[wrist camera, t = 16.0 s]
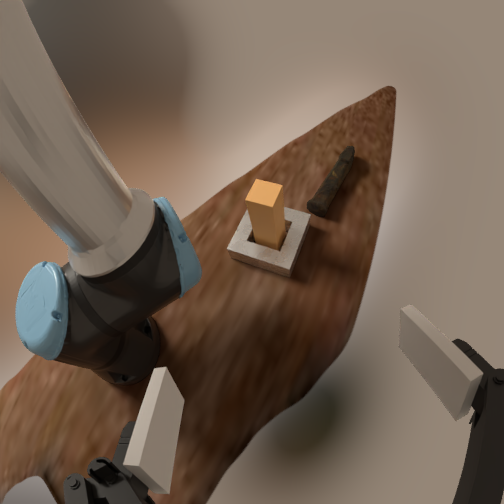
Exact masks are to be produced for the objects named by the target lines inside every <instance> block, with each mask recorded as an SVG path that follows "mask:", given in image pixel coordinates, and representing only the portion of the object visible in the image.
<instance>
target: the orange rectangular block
mask: <svg viewBox="0 0 504 504" xmlns="http://www.w3.org/2000/svg"><path fill="white" fill-rule="evenodd" d="M245 201H246V205H247V209H248V213H249V217H250V221H251V225H252V229H253V233H254V237H255V242H256V244H258V245H262V246H265V247H268V248H271V249H274V250H277V251H280V248H281V246H282V244H283V241H284V239H285V236H286V231H285V214H284V199H283V185H279V184H275V183H271V182H267V181H263V180H258V179H256V180H255V182H254V184H253V186H252V188H251V190H250V192H249V194H248V196H247V198H246V199H245Z"/></svg>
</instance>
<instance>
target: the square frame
mask: <svg viewBox="0 0 504 504" xmlns="http://www.w3.org/2000/svg"><path fill="white" fill-rule="evenodd" d="M284 214H285V230H287V231H288V234H287V236H286V239H285V241H284V244H283V246H282V248H281V251H277V250H274V249H271V248H268V247H265V246H262V245H258V244H255V243H253V242H254V240H255V237H254V233H253V229H252V225H251V221H250V217H249V213H248V209H247V211H246V213H245V214H244V216H243V218H242V220H241V222H240V224H239V226H238V228H237V230H236V232H235V234H234V236H233V238H232V240H231V242H230V244H229V246H228V248H227V250H228V252H229V255H230V257H231V258H232V259H235V260H238V261H241V262H244V263H247V264H250V265H253V266H256V267H259V268H262V269H265V270H268V271H271V272H274V273H277V274H280V275H283V276H286V277H289V278H290V276H291V273H292V271H293V268H294V266H295V263H296V261H297V258H298V255H299V253H300V250H301V247H302V245H303V242H304V240H305V237H306V234H307V232H308V229H309V226H310V217H311V214H307V213H304V212H300V211H297V210H293V209H290V208H286V207H284Z"/></svg>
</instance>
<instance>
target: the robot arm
mask: <svg viewBox="0 0 504 504" xmlns="http://www.w3.org/2000/svg"><path fill="white" fill-rule="evenodd" d="M0 172H1V173H2V174H3V175H4V177H5V178H6V179H7V180H8V182H9V183H10V184H11V185H12V186H13V187H14V189H15V190H16V191H17V192H18V193H19V195H20V196H21V197H22V198H23V199H24V200H25V201H26V202H27V204H28V205H29V206H30V207H31V208H32V209H33V210H34V211H35V212H36V213H37V215H38V216H40V218H41V219H42V220H43V221H44V222H45V223H46V224H47V225H48V226H49V227H50V228H51V229H52V230H53V231H54V232H55V233H56V234H57V235H58V236H59V237H60V238H61V239H62V240H63V241H64V242H65V243H66V244H67V245H68V259H69V262H68V263H67V264H65V265H64V266H63V267H60V266H59V265H58V264H56V263H54V262H53V263H51V262H46V261H44V262H40V263H39V264H37V265H35V266H34V267H33V268H32V269H31V270H30V271H29V273H28V274H27V275H26V277H25V279H24V281H23V283H22V285H21V288H20V290H19V294H18V299H17V303H16V326H17V331H18V334H19V337H20V339H21V341H22V343H23V344H24V346H25V347H26V348H27V349H28V350H29V351H31V352H32V353H34V354H37V355H39V356H41V357H43V358H44V359H46V360H55V361H58V362H62V363H66V364H70V365H74V366H78V367H83V368H88V369H91V370H92V371H93V372H94V373H96V374H97V375H98V376H99V377H101V378H102V379H104V380H105V381H108V382H110V383H113V384H119V385H131V384H135V383H137V382H139V381H141V380H143V379H144V378H145V377H146V376H148V375H149V373H150V372H151V371H152V369H153V368H154V366H155V364H156V362H157V359H158V356H159V352H160V336H159V331H158V328H157V326H156V323H155V321H154V320H153V318H152V317H151V315H153V314H154V313H156V312H157V311H159V310H161V309H162V308H164V307H165V306H167V305H168V304H170V303H172V302H173V301H175V300H176V299H178V298H181V297H182V296H183V295H184V293H185V292H187V291H188V290H189V289H191V288H192V287H193V286H195V285H196V284H197V283H198V282H199V281H200V279H201V276H202V269H201V265H200V262H199V260H198V257H197V255H196V253H195V250H194V248H193V246H192V244H191V242H190V240H189V238H188V237H187V236H186V232H185V230H184V228H183V226H182V224H181V222H180V220H179V218H178V216H177V214H176V213H175V211H174V209H173V207H172V206H171V204H170V203H169V201H168V200H167V199H166V198H165V197H159V198H155V199H153V200H152V198H151V197H150V196H149V194H147V193H146V192H145V191H143V190H141V189H136V188H127V187H126V185H125V184H124V182H123V181H122V179H121V178H120V176H119V175H118V173H117V172H116V170H115V169H114V167H113V165H112V164H111V162H110V161H109V159H108V158H107V156H106V155H105V153H104V152H103V150H102V148H101V147H100V145H99V144H98V142H97V141H96V139H95V137H94V136H93V134H92V132H91V131H90V129H89V127H88V126H87V124H86V122H85V121H84V119H83V117H82V116H81V114H80V112H79V111H78V109H77V107H76V106H75V104H74V102H73V100H72V99H71V97H70V95H69V93H68V92H67V90H66V88H65V86H64V85H63V83H62V81H61V79H60V77H59V75H58V74H57V72H56V70H55V68H54V66H53V64H52V62H51V60H50V58H49V57H48V55H47V52H46V51H45V49H44V47H43V45H42V43H41V41H40V38H39V36H38V34H37V32H36V30H35V28H34V26H33V24H32V22H31V19H30V17H29V15H28V13H27V10H26V8H25V6H24V4H23V1H22V0H0ZM399 348H400V349H401V350H402V351H403V352H404V354H405V355H406V356H407V358H408V359H409V360H410V361H411V363H412V364H413V365H414V367H415V368H416V369H417V370H418V372H419V373H420V374H421V375H422V377H423V378H424V379H425V381H426V382H427V383H428V385H429V386H430V387H431V388H432V390H433V391H434V392H435V394H436V395H437V396H438V398H439V399H440V400H441V402H442V403H443V404H444V406H445V407H446V409H447V410H448V411H449V413H450V414H451V415H452V417H453V418H454V419H455V421H457V420H459V419H460V418H462V417H463V416H465V415H467V414H468V412H469V410H470V408H471V406H472V407H473V408H474V410H475V411H474V413H473V415H472V418H471V420H470V422H469V424H471V423H472V427H471V433H470V438H469V444H468V449H467V454H466V458H465V463H464V467H463V471H462V474H461V478H460V481H459V485H458V488H457V491H456V495H455V498H454V500H453V503H452V504H500V503H501V500H502V495H503V491H504V369H494V368H493V367H492V366H491V365H490V364H489V363H488V362H487V361H485V360H484V358H483V357H481V356H480V355H479V354H477V352H476V351H475V350H474V349H472V347H471V346H470V345H469V344H467V343H466V342H465V341H462V340H460V339H456V340H454V341H450V340H449V339H448V338H447V337H446V336H445V335H444V334H443V333H442V332H441V331H440V330H439V329H438V328H437V327H436V326H434V325H433V324H432V323H431V322H430V321H429V320H428V319H427V318H426V317H425V316H424V315H422V314H421V313H420V312H419V311H418V310H417V309H416V308H415V307H414V306H412V305H408V306H405V307H403V308H400V331H399ZM183 406H184V399H183V397H182V395H181V393H180V391H179V390H178V388H177V386H176V384H175V382H174V380H173V378H172V376H171V375H170V373H169V371H168V369H167V367H161V368H154V371H153V373H152V376H151V379H150V382H149V385H148V388H147V391H146V394H145V396H144V399H143V402H142V405H141V408H140V411H139V415H138V418H137V421H136V422H128V423H127V425H126V426H125V427H124V428H123V431H122V434H121V436H120V437H121V438H120V439H119V442H118V443H119V445H117V448H116V451H115V454H114V457H113V460H112V462H111V461H110V460H109V459H108V458H105V457H99V458H96V459H94V460H93V461H91V462H90V464H89V465H88V469H87V472H88V475H89V476H91V477H92V478H87V479H85V478H84V477H83V476H82V475H80V474H78V473H74V474H71V475H69V476H68V477H67V478H66V479H65V481H64V497H65V504H155V502H154V501H153V500H152V498H151V497H150V496H149V495H148V494H147V493H148V488H149V489H150V490H151V491H152V492H154V493H159V494H169V492H170V485H171V479H172V472H173V465H174V459H175V453H176V447H177V441H178V435H179V429H180V423H181V417H182V412H183Z"/></svg>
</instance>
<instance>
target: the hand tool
mask: <svg viewBox="0 0 504 504" xmlns="http://www.w3.org/2000/svg"><path fill="white" fill-rule="evenodd" d="M354 153H355V150H354V147H353V146H347V147H346V149H345V150H344V151H343V152H342V153H341V154H340V156H339V159H338V161H337V162H336V164H335V166H334V167H333V169H332V170H331V172H330V173H329V174H328V176H327V177H326V179H325V180H324V182H323V183H322V185H321V186H320V188H319V189H318V191H317V192H316V194H315V196H314V197H313V198H312V199H311V200H309V201H308V202H307V209H308V210H309V212H311V213H313V214H315V215H317V216H320V217H324V216H325V214H326V213H327V209H328V206H329V204H330V203H331V201H332V200H333V198H334V197H335V194H336V192H337V191H338V189H339V187H340V185H341V184H342V182H343V180H344V178H345V176H346V175H347V173H348V172H349V170H350V168H351V165H352V162H353V159H354Z"/></svg>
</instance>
